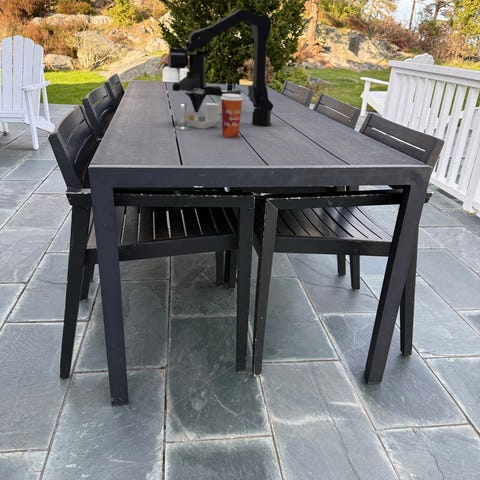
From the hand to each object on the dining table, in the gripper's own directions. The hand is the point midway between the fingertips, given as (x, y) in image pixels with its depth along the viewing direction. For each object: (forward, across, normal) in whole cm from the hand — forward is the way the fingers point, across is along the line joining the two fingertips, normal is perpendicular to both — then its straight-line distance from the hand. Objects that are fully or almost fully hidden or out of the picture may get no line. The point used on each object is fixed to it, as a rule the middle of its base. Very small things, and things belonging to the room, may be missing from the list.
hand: (196, 112), depth 169 cm
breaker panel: (+5, 0, 0) cm, 5 cm away
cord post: (+5, 0, -10) cm, 11 cm away
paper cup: (+5, +20, -8) cm, 22 cm away
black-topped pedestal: (+6, -6, +36) cm, 36 cm away
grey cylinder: (+5, 0, +12) cm, 13 cm away
